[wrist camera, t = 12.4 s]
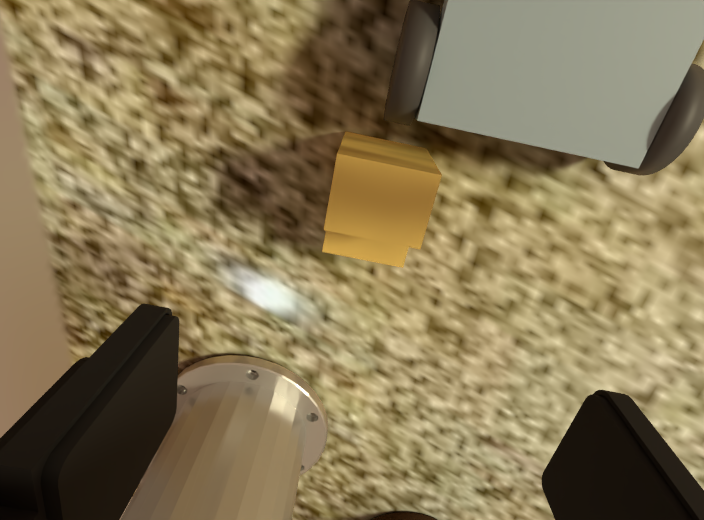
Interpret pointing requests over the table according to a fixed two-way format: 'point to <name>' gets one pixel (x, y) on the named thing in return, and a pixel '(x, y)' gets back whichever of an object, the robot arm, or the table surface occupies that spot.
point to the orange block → (379, 199)
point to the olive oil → (404, 516)
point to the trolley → (557, 75)
